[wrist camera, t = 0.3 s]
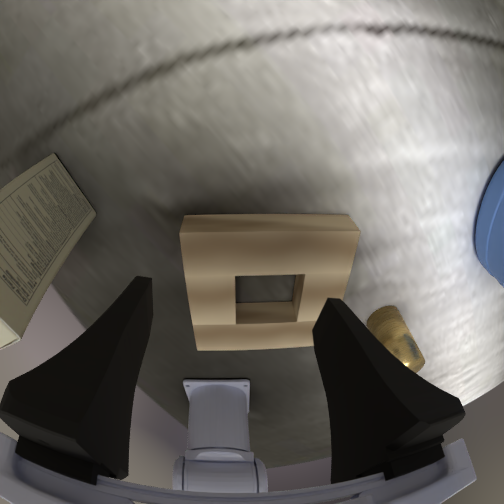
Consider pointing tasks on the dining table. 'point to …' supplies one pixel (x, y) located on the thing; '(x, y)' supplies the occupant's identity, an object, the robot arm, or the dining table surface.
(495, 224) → the water jug
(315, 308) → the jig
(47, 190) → the skincare box
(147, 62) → the dining table surface
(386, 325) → the amber rounded cylinder
